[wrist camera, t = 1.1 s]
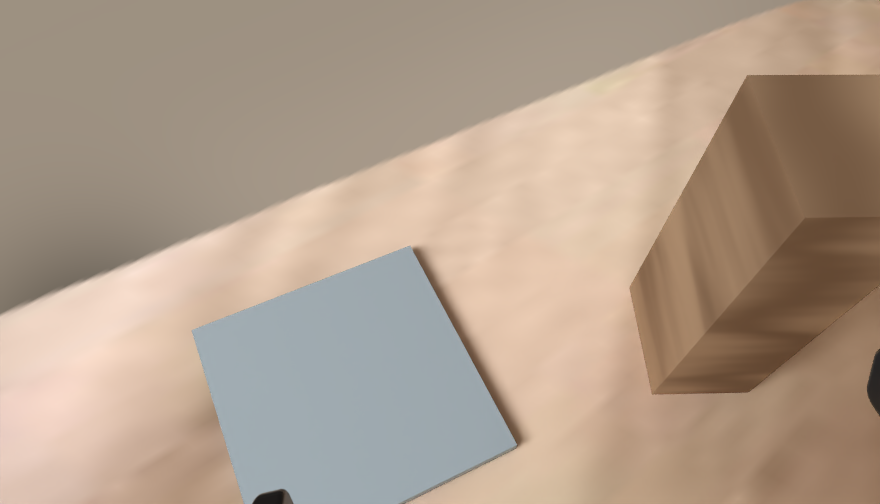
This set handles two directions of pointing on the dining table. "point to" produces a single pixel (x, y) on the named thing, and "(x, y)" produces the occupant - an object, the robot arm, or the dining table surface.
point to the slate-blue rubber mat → (350, 390)
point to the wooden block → (765, 235)
